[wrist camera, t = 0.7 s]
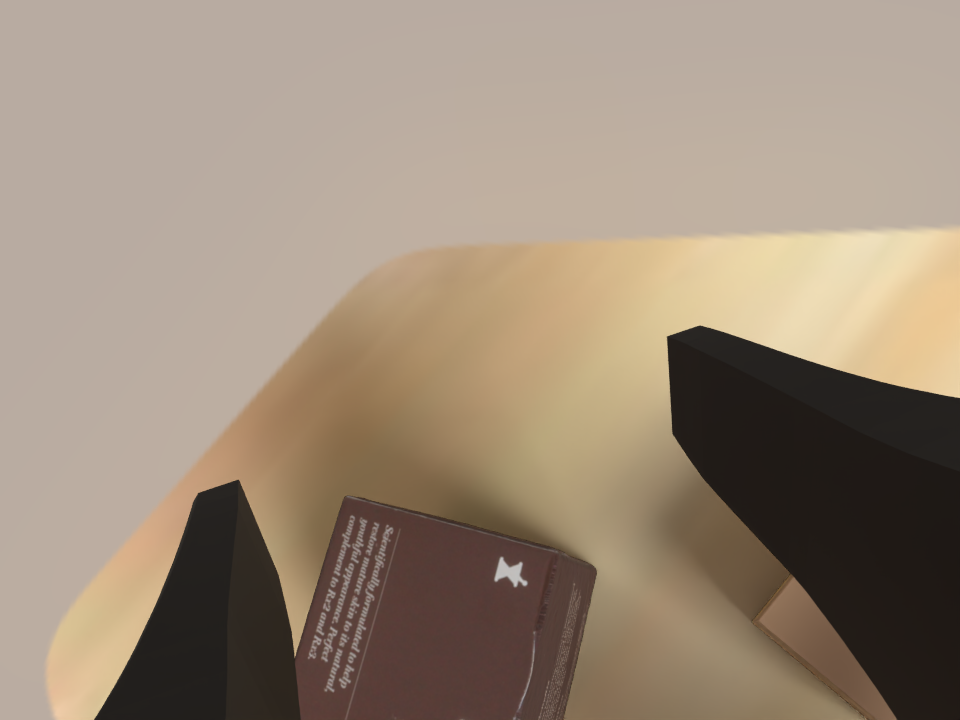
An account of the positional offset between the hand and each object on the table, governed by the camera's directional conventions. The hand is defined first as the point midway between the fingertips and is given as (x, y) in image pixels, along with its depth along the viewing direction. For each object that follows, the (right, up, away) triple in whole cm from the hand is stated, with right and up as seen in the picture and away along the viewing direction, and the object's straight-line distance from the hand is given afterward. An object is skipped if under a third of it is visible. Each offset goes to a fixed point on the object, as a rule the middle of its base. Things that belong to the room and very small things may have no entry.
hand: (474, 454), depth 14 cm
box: (0, -7, +14) cm, 16 cm away
